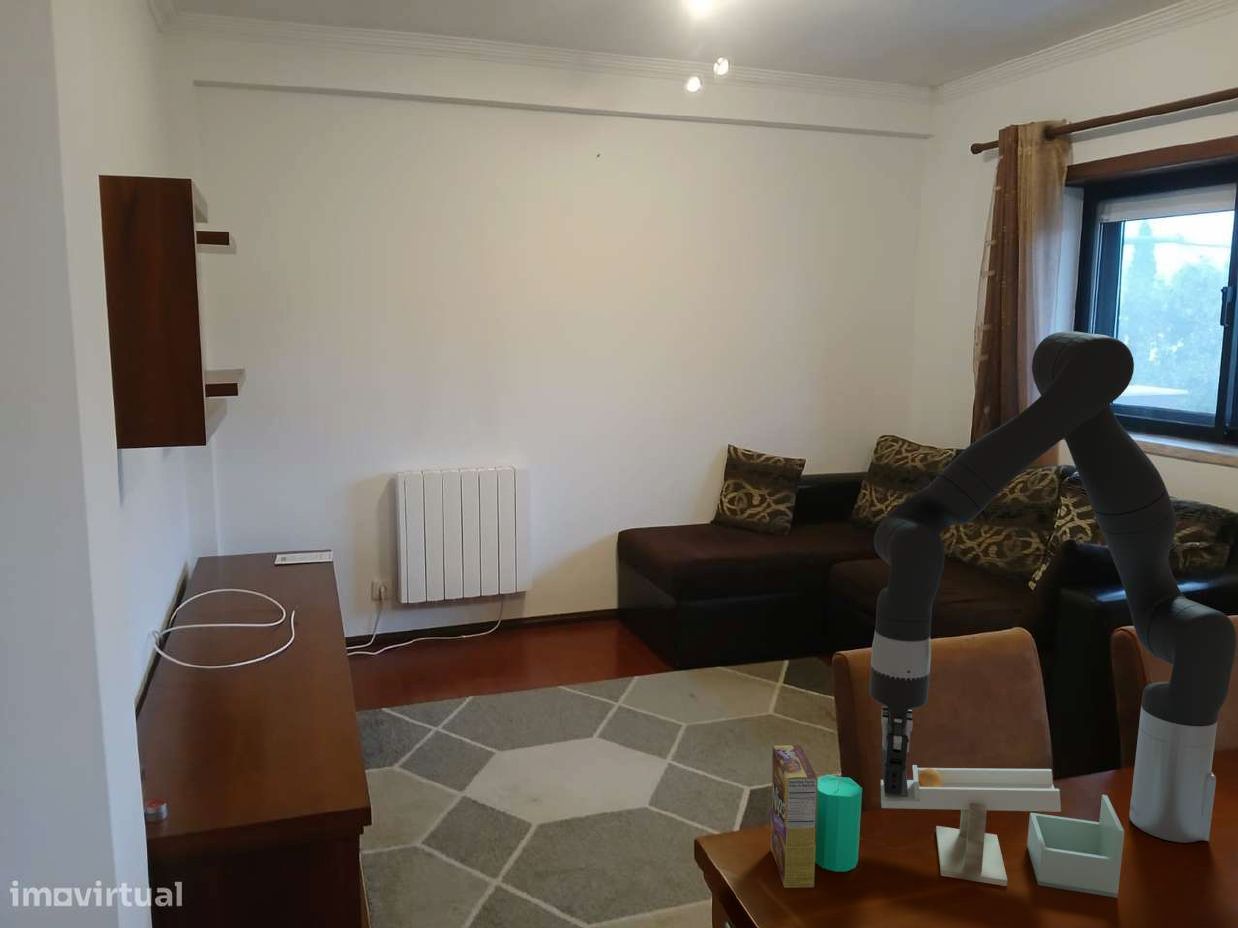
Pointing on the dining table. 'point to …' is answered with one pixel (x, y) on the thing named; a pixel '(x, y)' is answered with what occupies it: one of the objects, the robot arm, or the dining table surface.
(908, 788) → the board
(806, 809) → the candy box
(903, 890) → the dining table surface
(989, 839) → the lever stand
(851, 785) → the candle
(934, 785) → the ball
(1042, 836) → the cup
